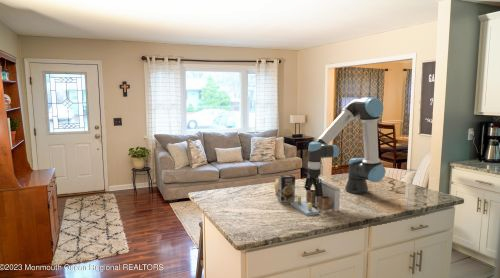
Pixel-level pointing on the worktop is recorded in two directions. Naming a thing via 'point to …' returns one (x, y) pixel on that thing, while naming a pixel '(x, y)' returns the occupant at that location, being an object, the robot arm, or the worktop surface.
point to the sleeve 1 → (311, 197)
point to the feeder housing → (331, 194)
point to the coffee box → (286, 188)
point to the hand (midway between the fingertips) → (312, 203)
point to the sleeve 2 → (324, 204)
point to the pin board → (304, 207)
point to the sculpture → (276, 185)
